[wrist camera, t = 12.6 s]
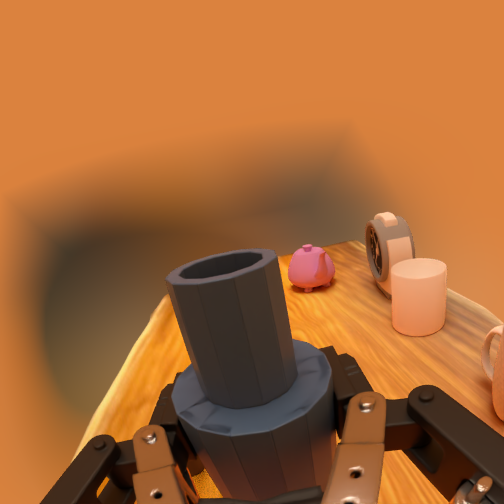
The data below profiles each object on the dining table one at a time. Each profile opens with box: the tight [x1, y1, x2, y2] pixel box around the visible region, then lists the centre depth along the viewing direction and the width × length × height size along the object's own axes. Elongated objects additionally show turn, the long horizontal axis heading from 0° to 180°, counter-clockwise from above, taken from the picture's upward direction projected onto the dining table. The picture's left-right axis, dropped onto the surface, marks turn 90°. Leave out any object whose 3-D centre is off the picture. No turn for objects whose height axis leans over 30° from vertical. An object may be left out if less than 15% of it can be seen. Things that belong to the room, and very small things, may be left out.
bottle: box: [165, 248, 336, 501], centre depth 10 cm, size 5×5×14 cm
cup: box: [391, 258, 447, 336], centre depth 51 cm, size 12×12×12 cm
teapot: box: [288, 244, 335, 292], centre depth 85 cm, size 20×14×12 cm
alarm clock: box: [365, 212, 415, 299], centre depth 68 cm, size 18×8×20 cm, turn 174°
